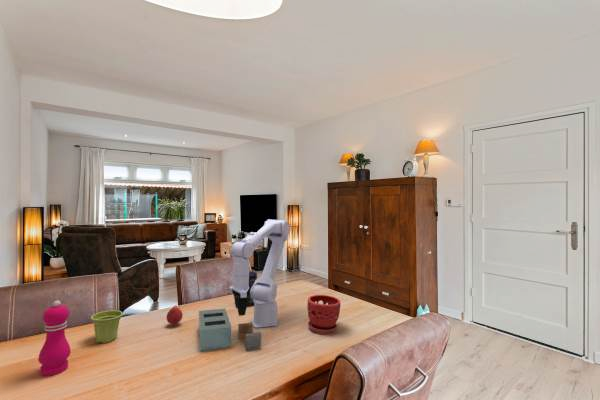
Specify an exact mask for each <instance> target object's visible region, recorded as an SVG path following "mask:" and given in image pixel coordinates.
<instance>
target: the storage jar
mask: <svg viewBox="0 0 600 400" xmlns="http://www.w3.org/2000/svg"><path fill="white" fill-rule="evenodd" d="M257 279H258V272H257V271H251V270H249V290H248V291H247V296H250V290H251V288H252V286H253V285H254V283H255V280H257ZM252 307H254V302H253V299H252V298H250V300H249V302H248V304H247V308H252Z"/></svg>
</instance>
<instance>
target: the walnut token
mask: <svg viewBox="0 0 600 400" xmlns="http://www.w3.org/2000/svg"><path fill="white" fill-rule="evenodd" d="M237 327H238V328H237V333H238V334H237V338H238V340H239V341H241V340H245V334H248V333H254V325H253V323H252V322H246V323H245V322H244V323H239V324H238V326H237Z"/></svg>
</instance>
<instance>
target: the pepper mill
mask: <svg viewBox="0 0 600 400" xmlns="http://www.w3.org/2000/svg"><path fill="white" fill-rule="evenodd" d="M61 303H62V302H61V301H60V300H58V299H57V300H55V301H53V303H52V306H50V307H48V308H47V309H46V310H45V311H44V312H43V314H42V321H43V322H44V323H45V325H44V331H45V333H46V336H45V341H44V343H43V346H42V347H41V350H40V352H39V353H38V363H39V364H41V366H40V369H39V375H41V376H42V377H43V376H44V377H48V376H49V377H51V376H55V375H58V374H60V373H62V372H64V371H66V370H67V369H68V368H69V367H68V366H69V360H68V358H69V357H70V355H71V354H72V353H71V351H72V350H71V346H70V344H69V341H68V340H67V337H66V333H65V330H66V328H67V326H68V324H67V323H68V321H67V320H68V318H69V317H70V309H69V308H68V307H67V306H66V305H61Z"/></svg>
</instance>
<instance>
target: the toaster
mask: <svg viewBox="0 0 600 400" xmlns="http://www.w3.org/2000/svg"><path fill="white" fill-rule="evenodd" d="M227 312H228V311H227V310H226V308H216V309H206V310H198V327H197V328H198V339H199V341H198V343H199V352H200V353H201V352H208V351H215V350H222V349H223V350H224V349H229V348H232V325H231V322H230V318H229V315H228V313H227Z"/></svg>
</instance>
